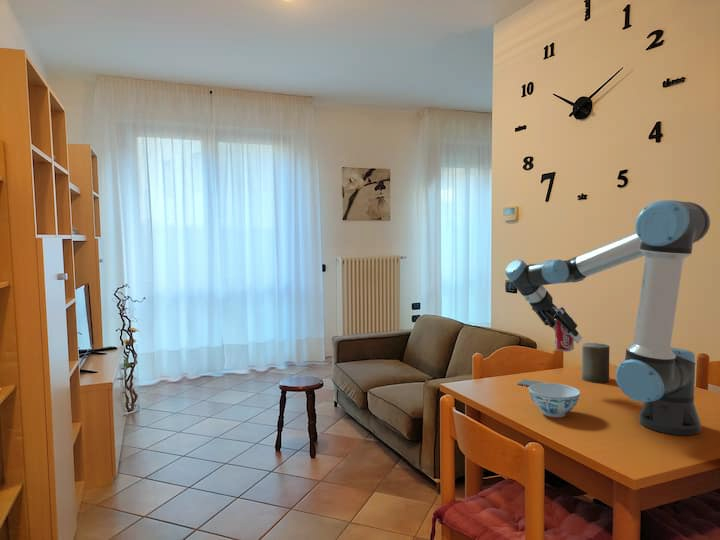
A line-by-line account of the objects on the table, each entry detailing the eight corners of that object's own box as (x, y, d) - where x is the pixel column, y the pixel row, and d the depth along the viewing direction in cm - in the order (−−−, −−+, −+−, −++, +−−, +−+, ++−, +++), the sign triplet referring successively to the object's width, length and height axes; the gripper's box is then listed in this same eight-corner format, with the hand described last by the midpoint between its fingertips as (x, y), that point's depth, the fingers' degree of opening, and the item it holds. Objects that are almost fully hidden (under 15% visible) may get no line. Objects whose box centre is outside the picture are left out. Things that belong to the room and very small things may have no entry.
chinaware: (590, 416, 149) (590, 392, 149) (558, 425, 142) (558, 400, 141) (550, 403, 162) (550, 380, 162) (518, 410, 155) (518, 387, 154)
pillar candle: (611, 383, 183) (612, 344, 183) (583, 381, 186) (583, 343, 186) (606, 377, 192) (607, 340, 192) (580, 375, 195) (580, 338, 195)
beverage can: (577, 351, 173) (578, 318, 172) (564, 352, 170) (564, 319, 170) (564, 347, 178) (564, 315, 178) (551, 349, 176) (551, 316, 175)
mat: (538, 388, 178) (538, 386, 178) (517, 384, 183) (517, 383, 183) (544, 384, 184) (544, 382, 184) (524, 380, 188) (524, 379, 188)
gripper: (512, 301, 176) (546, 341, 183) (551, 307, 159) (587, 352, 166) (524, 286, 178) (557, 326, 185) (564, 290, 160) (599, 335, 167)
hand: (571, 338), depth 175 cm, fingers closed on beverage can, 6 cm apart
